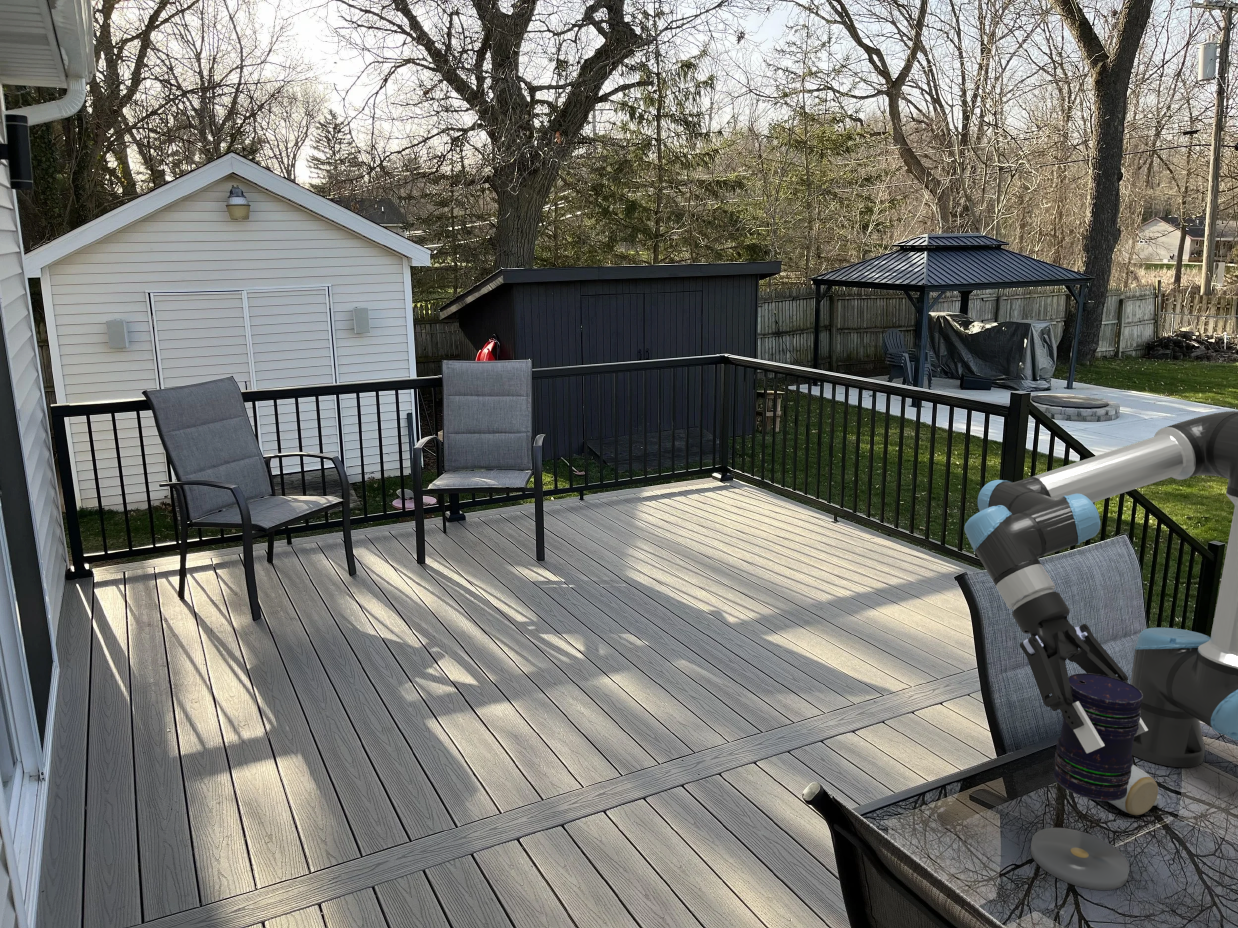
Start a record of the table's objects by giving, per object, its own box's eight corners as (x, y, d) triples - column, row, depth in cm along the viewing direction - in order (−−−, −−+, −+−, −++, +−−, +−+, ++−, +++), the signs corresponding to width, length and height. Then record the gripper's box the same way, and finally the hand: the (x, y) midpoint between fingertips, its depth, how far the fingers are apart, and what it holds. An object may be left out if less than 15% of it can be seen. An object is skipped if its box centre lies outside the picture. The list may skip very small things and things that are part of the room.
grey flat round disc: (1123, 851, 140) (1125, 841, 139) (1131, 900, 128) (1133, 890, 128) (1030, 827, 145) (1032, 818, 145) (1030, 873, 133) (1031, 863, 133)
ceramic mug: (1125, 821, 148) (1133, 777, 146) (1083, 795, 155) (1090, 753, 154) (1171, 811, 152) (1179, 769, 151) (1128, 786, 159) (1135, 745, 158)
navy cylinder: (1129, 778, 136) (1144, 684, 133) (1126, 809, 128) (1143, 708, 125) (1055, 759, 141) (1069, 667, 138) (1048, 787, 132) (1062, 690, 130)
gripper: (1060, 602, 149) (1141, 734, 139) (968, 622, 137) (1049, 767, 127) (1096, 580, 143) (1183, 716, 133) (1003, 599, 132) (1091, 749, 122)
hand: (1118, 741), depth 130 cm, fingers closed on navy cylinder, 10 cm apart
